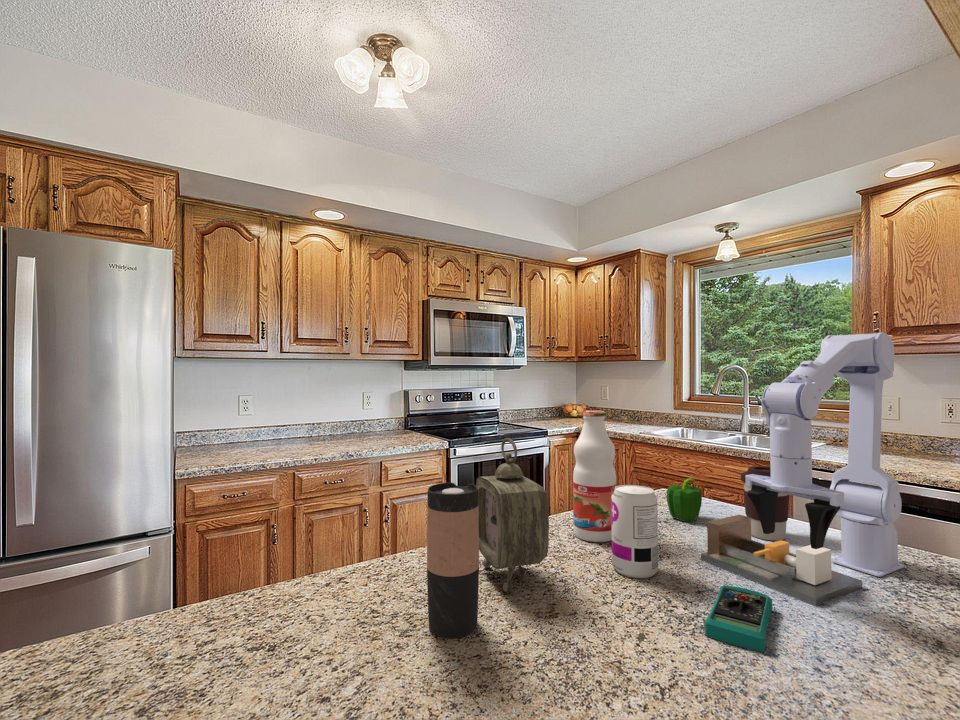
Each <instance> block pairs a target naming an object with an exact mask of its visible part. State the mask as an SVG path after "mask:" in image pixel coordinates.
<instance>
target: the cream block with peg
mask: <svg viewBox="0 0 960 720" xmlns="http://www.w3.org/2000/svg"><path fill="white" fill-rule="evenodd" d="M795 554H796V557H794V556H791V555H786V556H785V557H784V565H787V566H790V567H793V568H795V569H796V578H797V579H800V580H802V581H805V582H808V583H810V584H813V585H817V584H820V583H822V582H825V581H828V580H831V579H832V571H833V570H832V561H831V559H832V549H830V548H827V547H824V546H823V547H822V548H819V549H813V548H811V544H809V545H806V546H800V547H797V548H796V549H795Z"/></svg>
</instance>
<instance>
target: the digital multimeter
mask: <svg viewBox="0 0 960 720" xmlns="http://www.w3.org/2000/svg"><path fill="white" fill-rule="evenodd" d="M715 600H716V601H715V603H714V604H713V607H712V609H711V611H710V612H709V614H708V616H707V617H706V619H705V621H704V625H705V626H704V634H705V636H706V637H708V638H711V639H713V640H716V641H719V642H723V643H726V644H729V645H732V646H736V647H739V648H744V649H747V650H752V651H756V652H760V653H764V652H765V650H766V638H767V631H768V626H769V622H770V619H771V616H770V615H772V613H773V599H772V598H771V597H770V596H769V595H767V594H764V593H761V592H759V591H755V590H752V589H749V588H745V587H738V586H733V585H723V586H720V587H719V591H718V595H717V597H716V599H715ZM764 607H765V608H764ZM771 612H772V613H771Z"/></svg>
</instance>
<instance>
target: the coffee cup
mask: <svg viewBox="0 0 960 720" xmlns="http://www.w3.org/2000/svg"><path fill="white" fill-rule="evenodd" d="M750 474H755V475H761V476H768V477H771V466H765V465H764V466H763V465H759V466H758V465H753V466H749V467H748V469H747V471H744V472H741V474H740V481H741V482H743V501H744V511H745V516H746V517H750V518H751V537H754V538H756V539H760V540H765V541H771V542H772V541H773V542H777V541H780V540H782V541H784V540H785V539H786V536H787V521H788V520H789V507H790V495H788V494H783V493H778V497H777V502H776V508H775V531H774V533H770V534H764V533H763V529H762V526H761V522H760V519H759V516H758V513H757V511H756V509H755V507H754V505H753V503H752V501H751V499H750V498H749V496H748V494H747V491H749V490H751V488H752V487H748V486H746V475H750Z"/></svg>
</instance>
